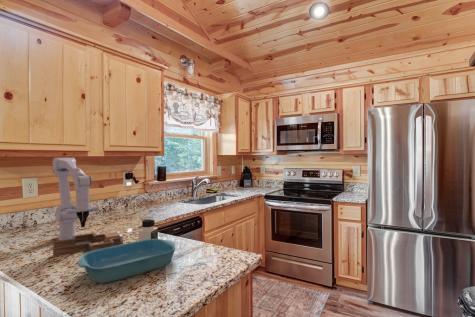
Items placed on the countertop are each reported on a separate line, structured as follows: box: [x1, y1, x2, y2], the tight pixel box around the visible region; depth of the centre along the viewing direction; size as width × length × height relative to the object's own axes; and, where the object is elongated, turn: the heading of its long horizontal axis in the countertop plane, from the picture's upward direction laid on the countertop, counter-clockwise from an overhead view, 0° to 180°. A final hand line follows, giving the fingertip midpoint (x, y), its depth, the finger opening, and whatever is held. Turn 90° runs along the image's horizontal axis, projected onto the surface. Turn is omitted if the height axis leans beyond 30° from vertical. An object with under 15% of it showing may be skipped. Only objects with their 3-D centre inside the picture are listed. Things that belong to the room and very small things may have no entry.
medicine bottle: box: [137, 218, 159, 241], centre depth 133 cm, size 7×7×12 cm
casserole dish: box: [76, 238, 176, 284], centre depth 103 cm, size 37×22×7 cm, turn 132°
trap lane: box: [52, 230, 124, 256], centre depth 129 cm, size 22×29×4 cm
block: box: [104, 231, 119, 243], centre depth 134 cm, size 6×6×4 cm
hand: (82, 226), depth 129 cm, fingers closed
